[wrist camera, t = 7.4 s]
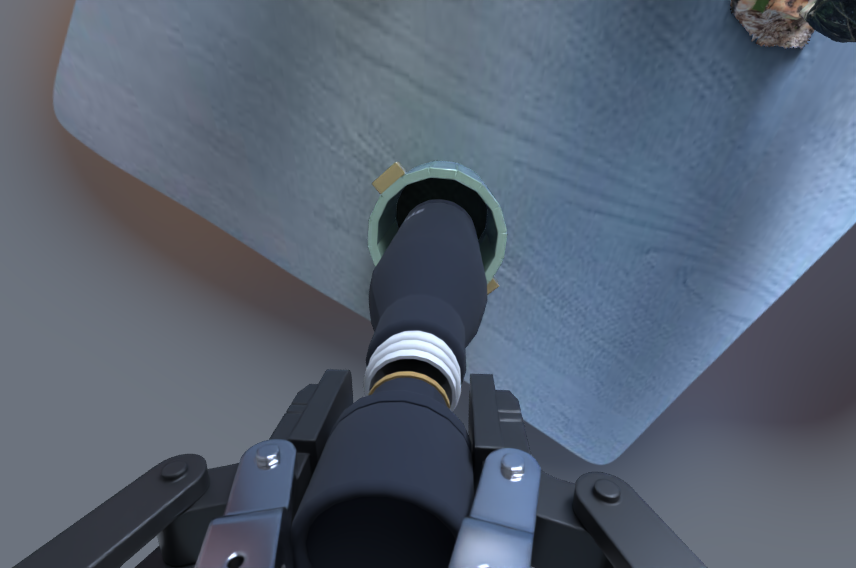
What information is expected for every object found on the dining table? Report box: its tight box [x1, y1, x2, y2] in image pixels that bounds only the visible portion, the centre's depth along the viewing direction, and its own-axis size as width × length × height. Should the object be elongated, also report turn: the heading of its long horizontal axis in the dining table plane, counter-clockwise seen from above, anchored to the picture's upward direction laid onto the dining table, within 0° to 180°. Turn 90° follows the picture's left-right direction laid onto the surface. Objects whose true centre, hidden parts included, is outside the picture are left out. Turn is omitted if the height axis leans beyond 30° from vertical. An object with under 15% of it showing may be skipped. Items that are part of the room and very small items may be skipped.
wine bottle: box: [291, 199, 487, 568], centre depth 23 cm, size 6×6×30 cm
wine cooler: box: [368, 160, 507, 295], centre depth 42 cm, size 12×14×12 cm
